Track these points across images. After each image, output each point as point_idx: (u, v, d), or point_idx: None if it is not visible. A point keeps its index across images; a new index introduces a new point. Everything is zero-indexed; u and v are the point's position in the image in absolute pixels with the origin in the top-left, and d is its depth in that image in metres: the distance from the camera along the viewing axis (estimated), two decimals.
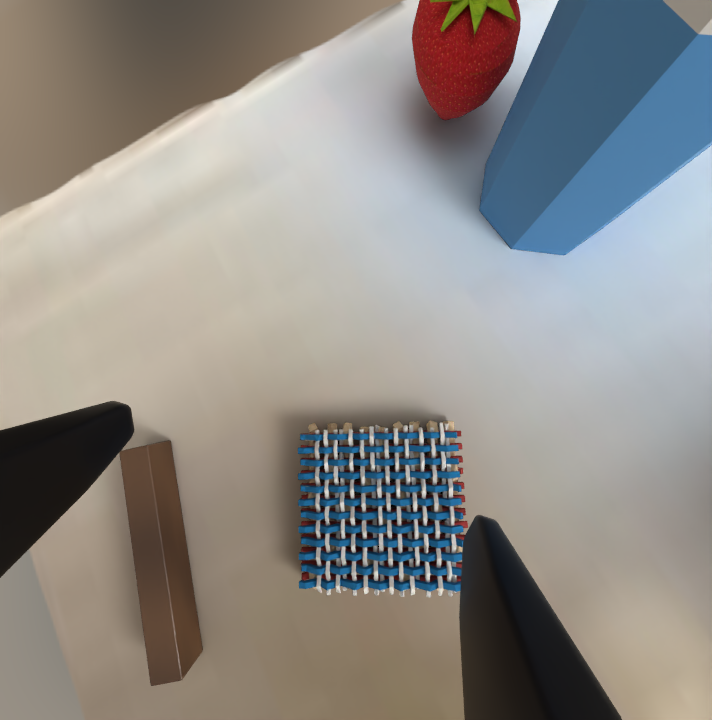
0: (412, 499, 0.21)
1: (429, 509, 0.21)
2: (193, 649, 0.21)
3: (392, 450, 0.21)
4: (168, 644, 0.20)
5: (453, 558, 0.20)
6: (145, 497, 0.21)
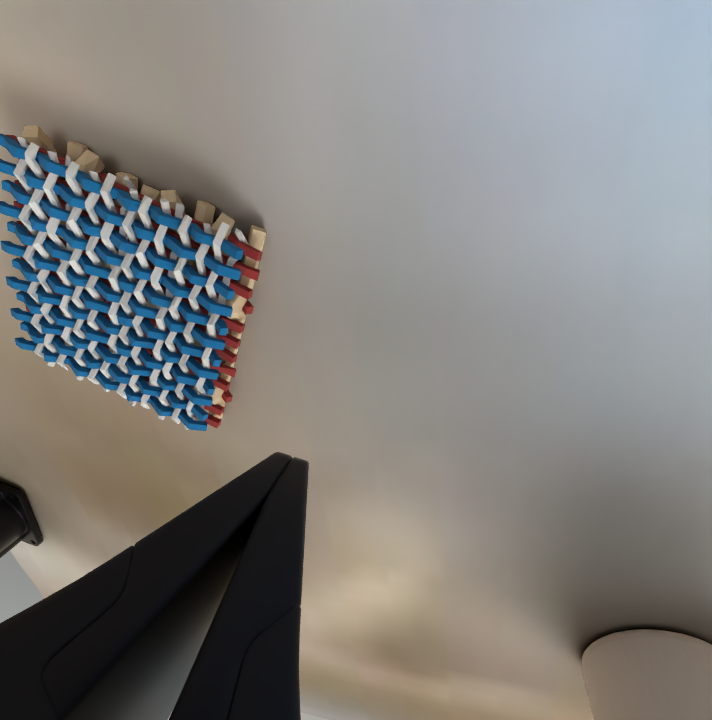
0: (159, 314, 0.14)
1: None
2: None
3: (135, 231, 0.12)
4: None
5: (193, 400, 0.15)
6: None
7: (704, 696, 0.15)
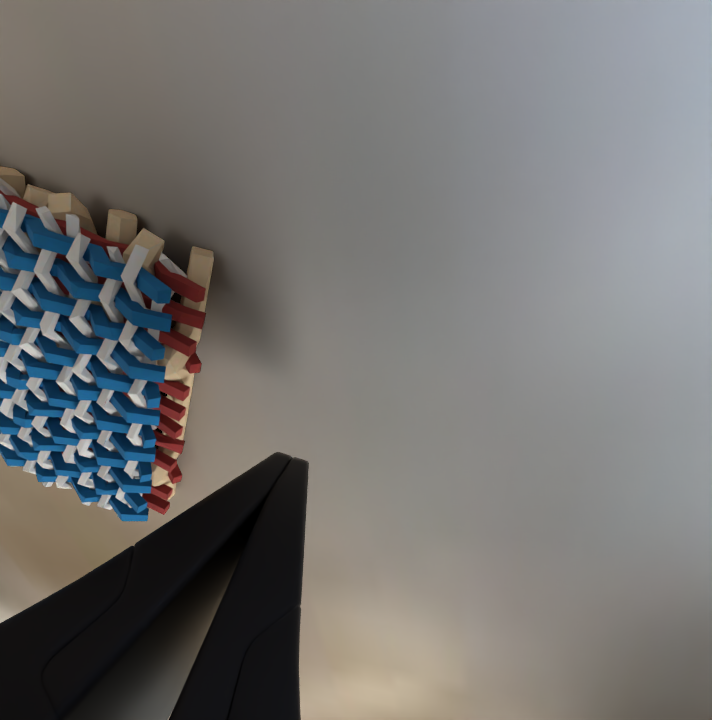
0: None
1: None
2: None
3: (6, 258, 0.08)
4: None
5: (123, 487, 0.11)
6: None
7: None
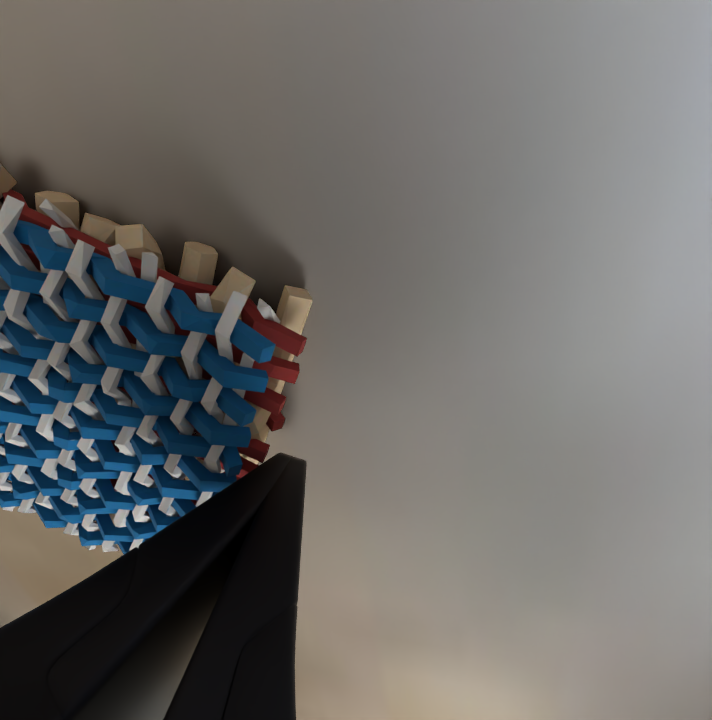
0: (122, 434, 0.08)
1: None
2: None
3: (66, 305, 0.06)
4: None
5: None
6: None
7: None
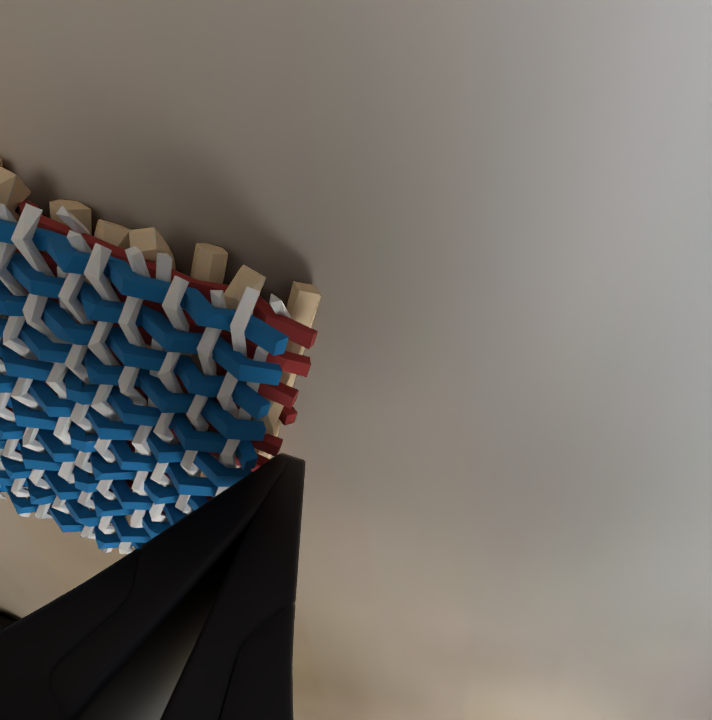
0: (138, 433, 0.08)
1: None
2: None
3: (84, 308, 0.07)
4: None
5: None
6: None
7: None
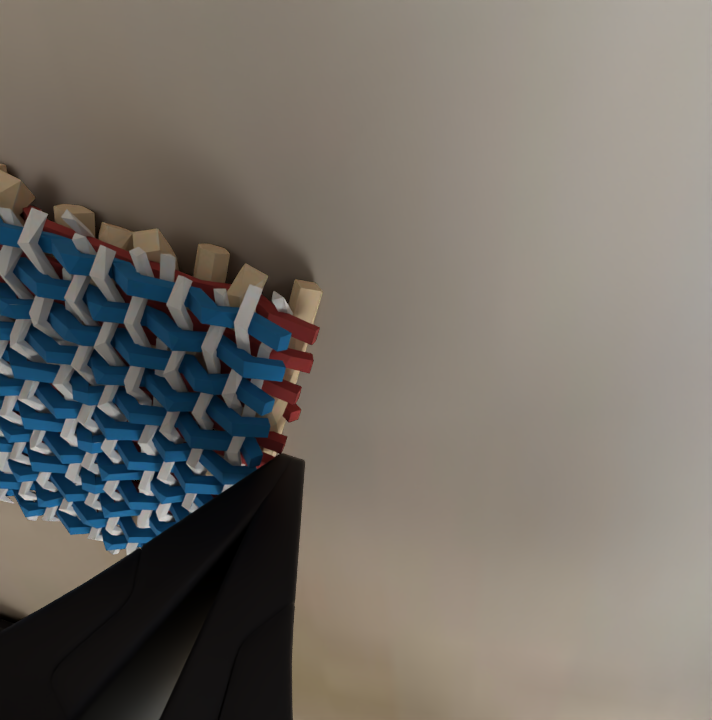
0: None
1: None
2: None
3: (89, 309, 0.07)
4: None
5: None
6: None
7: None
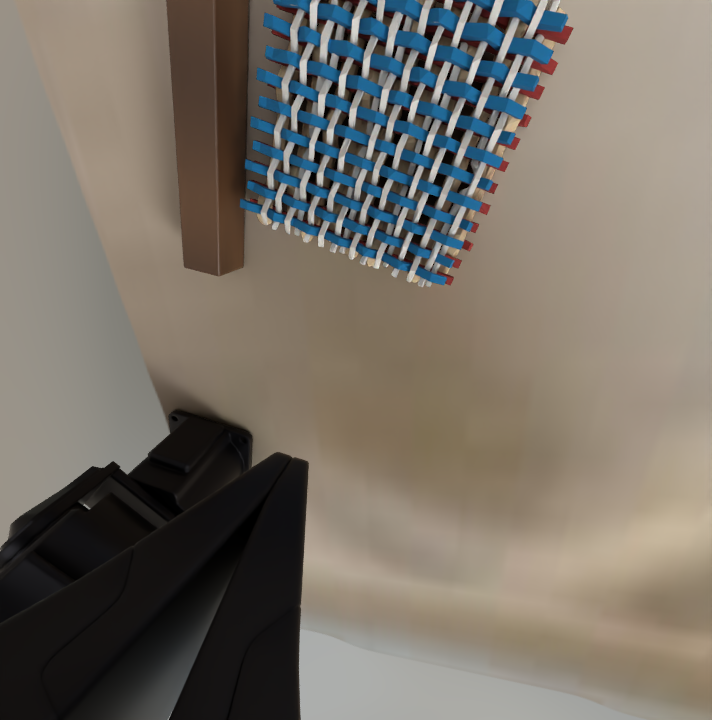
0: (429, 132, 0.13)
1: None
2: (235, 256, 0.18)
3: (435, 17, 0.11)
4: (208, 230, 0.16)
5: (446, 240, 0.14)
6: None
7: None
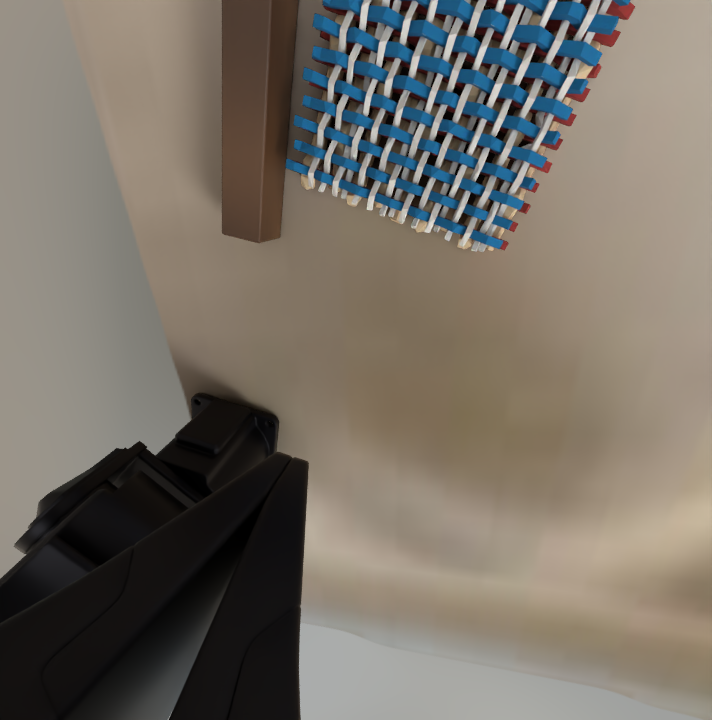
0: (495, 82, 0.12)
1: None
2: (274, 225, 0.17)
3: None
4: (251, 192, 0.15)
5: (507, 198, 0.13)
6: None
7: None
